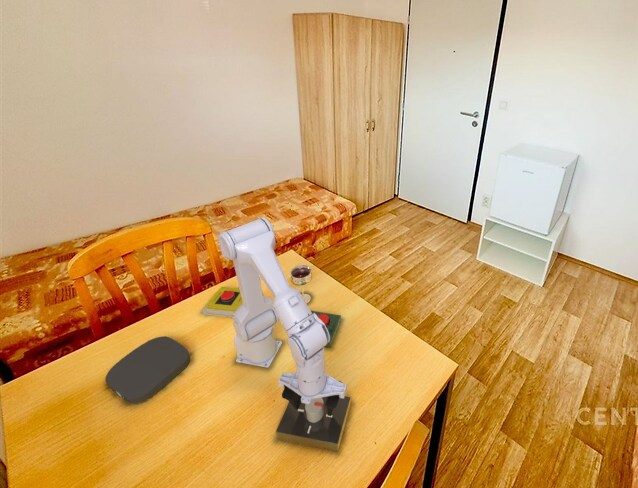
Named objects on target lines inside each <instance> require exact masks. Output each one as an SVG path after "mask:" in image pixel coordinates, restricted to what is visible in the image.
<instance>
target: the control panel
mask: <svg viewBox="0 0 638 488" xmlns="http://www.w3.org/2000/svg"><path fill="white" fill-rule="evenodd" d="M327 397H328V396H327ZM327 397H321V398H322V399H323V403H324V415H323V417H322V418H321V419H320V420H319V421H318V422H315V423H312V422H309V421H308V420H307V418H306V410H305V403H302V402H301V404H300V407H299V409H298V410H296V409H295V408H294V407H293V405H292V404H291V403H290V402H289V401H288V403H287V405H286V408H285V410H284V412H283V414H282V417H281V419H280V421H279V423H278V426H277V428H276V430H275V434H276V439H277V440H280V441H285V442H290V443H295V444H300V445H304V446H309V447H314V448H319V449H322V450H323V449H324V450H329V451H333V452H339V448H340V446H341V442H342V437H343V434H344V431H345V427H346V423H347V421H348V420H347V419H348V416H349V412H350V409H351V402H352V401H351V400H352V399H351V396H347V395H345V397H344V399H343V398H339V401H338V404H337V406H336V408H334V409H333V412H332V415H331V416H328V410H327V407H326V406H325V403H326V400H327Z"/></svg>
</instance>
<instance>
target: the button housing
mask: <svg viewBox="0 0 638 488" xmlns="http://www.w3.org/2000/svg"><path fill="white" fill-rule="evenodd" d="M310 311H311V312H312V314H313V313H315V314H316V315H317V317H318V316H319V315H321V314H326V315H328V317H329V324H328V325H327V326H326V328H327V330H328V332H329V335H330V341H329V342H328V343H327V344H326V345H325V346H324V348H331V347H332V345H333V343H334V340H335V337H336V335H337V331H338V330H339V326H340V324H341V321H342V316H341V315H340V314H334V313H328V312H322V311H316V310H310Z"/></svg>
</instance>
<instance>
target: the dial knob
mask: <svg viewBox="0 0 638 488" xmlns="http://www.w3.org/2000/svg"><path fill="white" fill-rule="evenodd" d="M305 410H306V418H307V420H308V421H309V422H312V423H315V422H318V421H319V420H320V419H321V418H322V417H323V415H324V403H323V399H322V398H315V399H312V401H311V403H310V404H305Z"/></svg>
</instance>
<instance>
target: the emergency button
mask: <svg viewBox="0 0 638 488" xmlns="http://www.w3.org/2000/svg"><path fill="white" fill-rule="evenodd" d="M242 303H243V302H242V297H241V293H240V289H239V287H231V286H220V287H219V289H217V291H216V292H215V293H214V295H213V296H212V297H211V298H210V300H208V301H207V303H206V305H205V307H204V308H203V309H202V314H203V315H206V316H215V317H225V318H233V317H234V316H233V314H234V313H235V311H236V310H237V309H238V308H239V307H240V306H241V304H242Z"/></svg>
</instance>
